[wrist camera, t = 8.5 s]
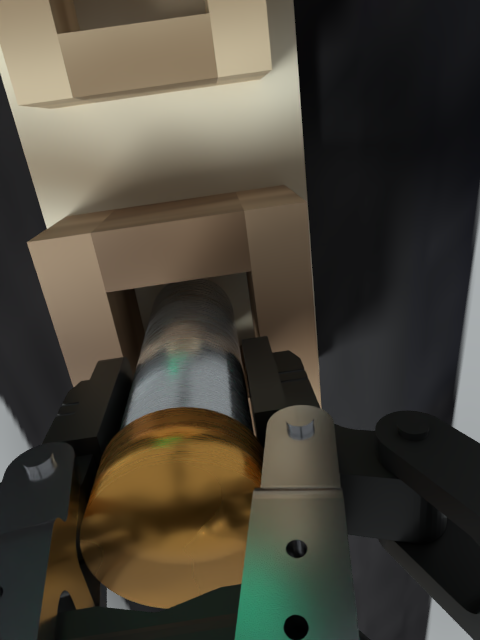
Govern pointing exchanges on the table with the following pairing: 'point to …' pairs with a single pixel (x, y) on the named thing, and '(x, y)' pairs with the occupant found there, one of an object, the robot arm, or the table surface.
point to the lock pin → (178, 459)
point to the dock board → (163, 166)
